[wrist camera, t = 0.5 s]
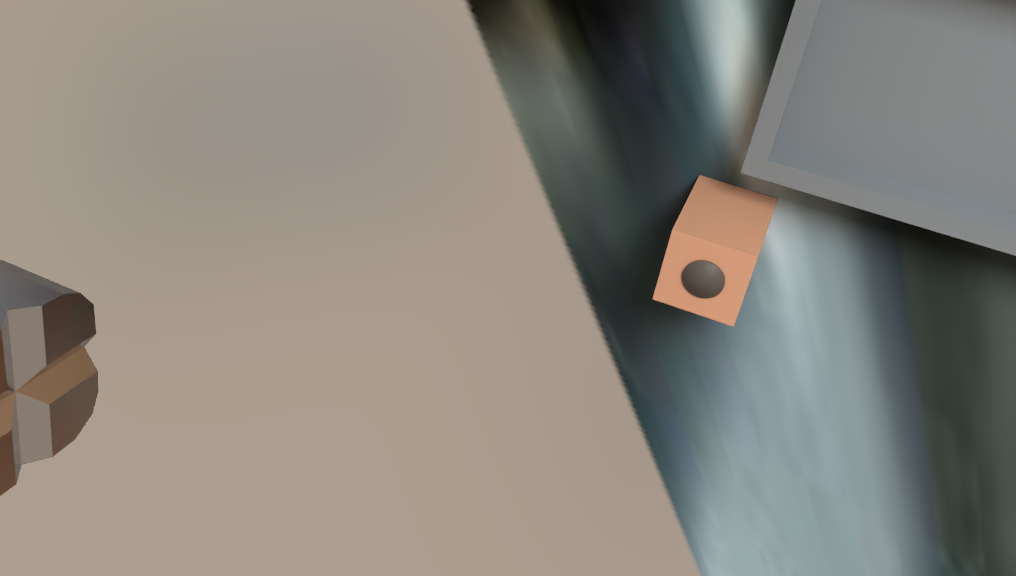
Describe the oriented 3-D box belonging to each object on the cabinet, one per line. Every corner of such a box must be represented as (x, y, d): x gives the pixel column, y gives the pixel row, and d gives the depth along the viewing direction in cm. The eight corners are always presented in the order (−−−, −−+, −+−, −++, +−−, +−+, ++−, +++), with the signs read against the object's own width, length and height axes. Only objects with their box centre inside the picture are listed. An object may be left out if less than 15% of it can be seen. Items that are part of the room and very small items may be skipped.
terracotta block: (699, 174, 48) (671, 230, 43) (777, 198, 47) (757, 258, 42) (680, 240, 50) (652, 300, 46) (754, 264, 50) (733, 327, 45)
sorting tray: (831, -105, 39) (825, -93, 37) (1255, -8, 36) (1272, 11, 34) (749, 151, 46) (740, 172, 44) (1097, 254, 43) (1103, 282, 41)
